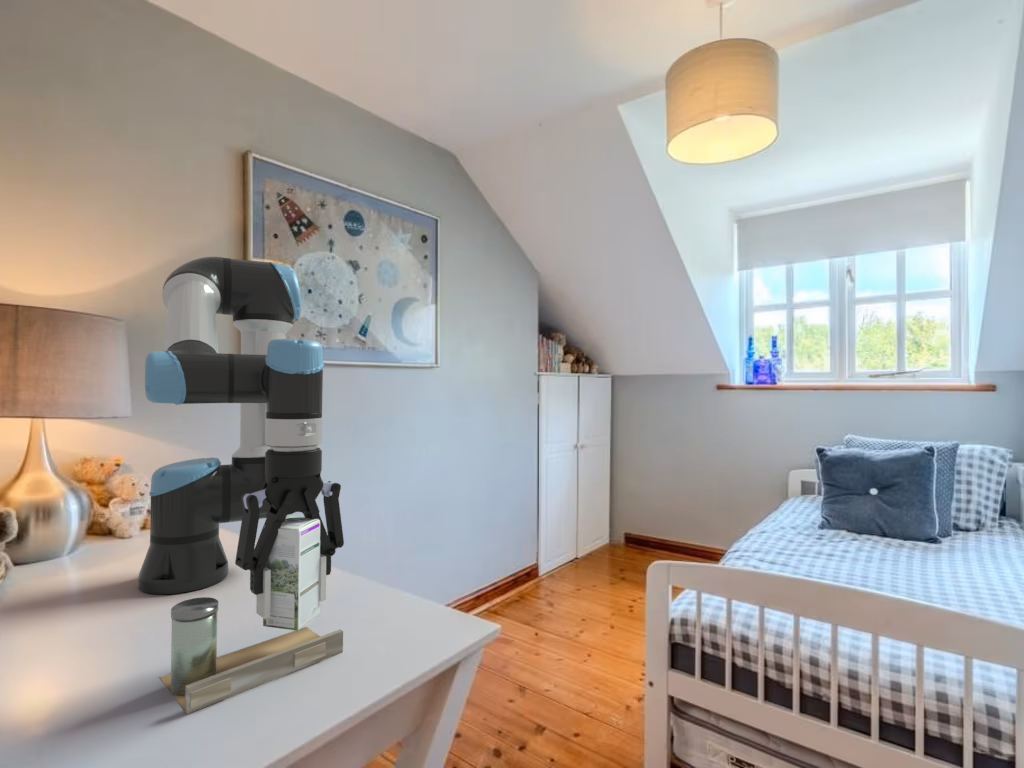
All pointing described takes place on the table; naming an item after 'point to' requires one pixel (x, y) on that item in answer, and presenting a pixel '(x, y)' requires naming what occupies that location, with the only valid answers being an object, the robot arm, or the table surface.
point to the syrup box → (295, 574)
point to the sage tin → (193, 642)
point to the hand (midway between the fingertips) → (292, 606)
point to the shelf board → (258, 666)
